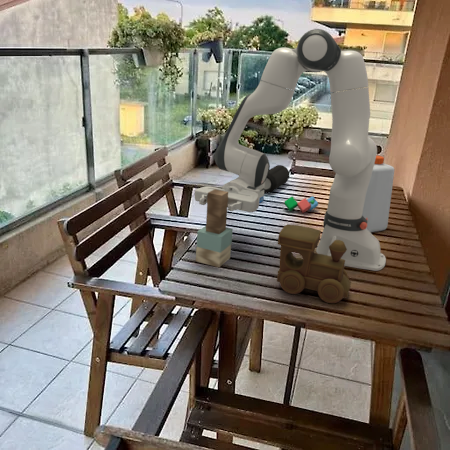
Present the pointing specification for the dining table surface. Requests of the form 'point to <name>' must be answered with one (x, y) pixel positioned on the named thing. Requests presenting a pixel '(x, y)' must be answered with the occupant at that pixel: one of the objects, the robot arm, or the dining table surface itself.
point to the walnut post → (216, 211)
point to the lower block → (212, 256)
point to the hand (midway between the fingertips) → (215, 205)
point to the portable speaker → (276, 178)
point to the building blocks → (301, 204)
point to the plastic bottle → (378, 196)
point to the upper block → (214, 239)
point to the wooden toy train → (311, 264)
